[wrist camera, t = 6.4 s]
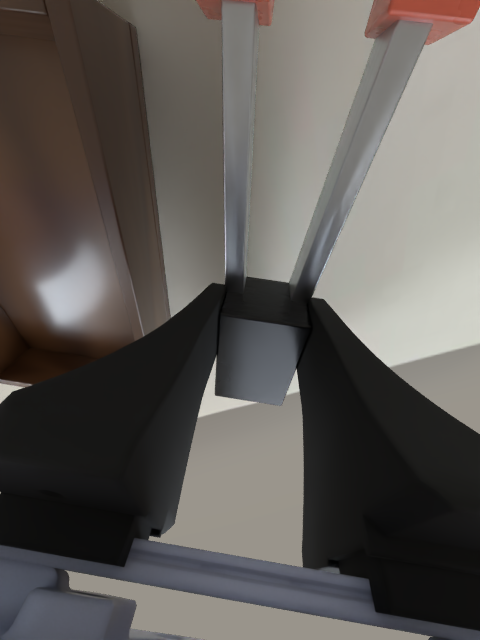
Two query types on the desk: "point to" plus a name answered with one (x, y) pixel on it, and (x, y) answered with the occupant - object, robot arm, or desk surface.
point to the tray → (73, 191)
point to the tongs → (336, 196)
